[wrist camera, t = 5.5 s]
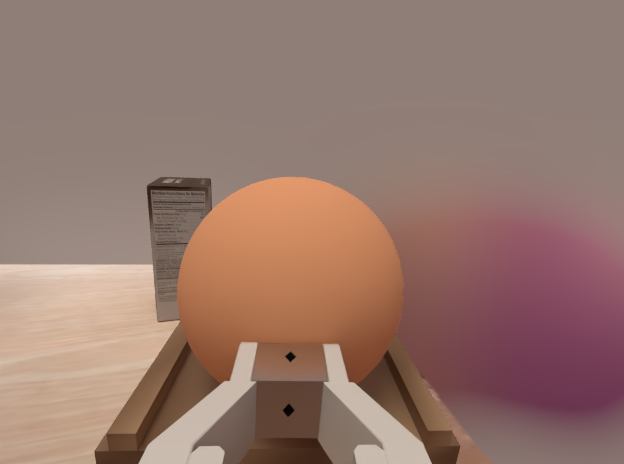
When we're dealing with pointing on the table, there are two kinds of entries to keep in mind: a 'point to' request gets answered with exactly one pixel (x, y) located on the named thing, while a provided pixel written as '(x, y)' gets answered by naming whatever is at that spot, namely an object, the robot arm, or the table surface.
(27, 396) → the table surface
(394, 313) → the ball
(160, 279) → the coffee box
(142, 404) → the brown wooden grooved block
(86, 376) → the table surface
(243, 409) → the robot arm
